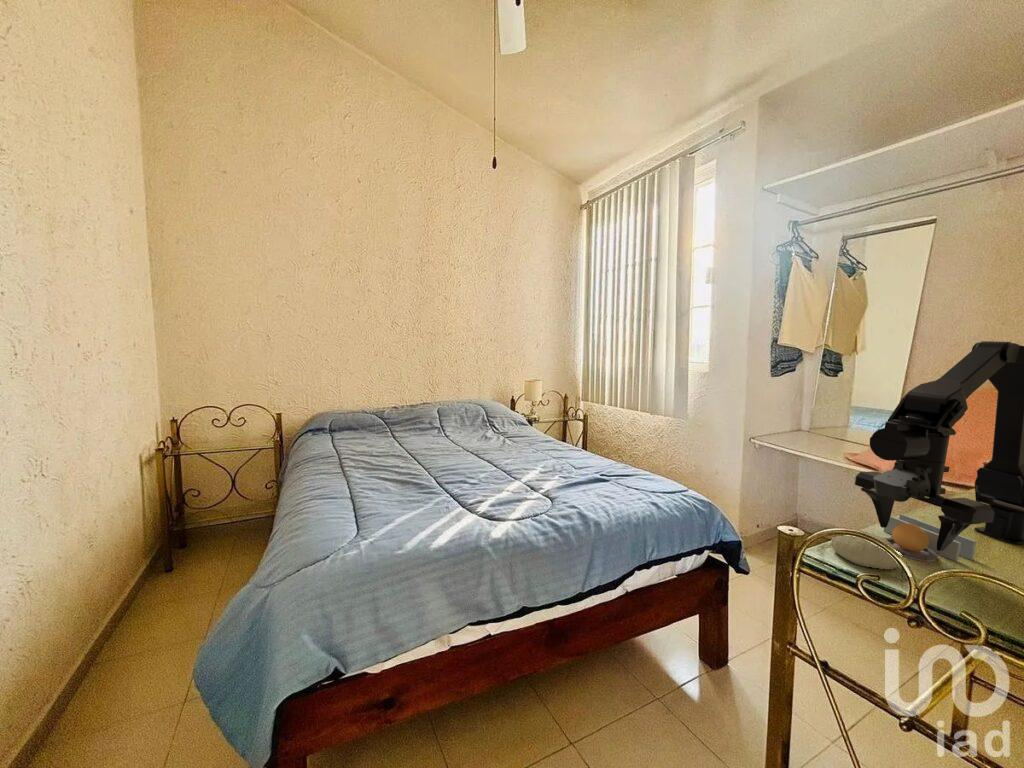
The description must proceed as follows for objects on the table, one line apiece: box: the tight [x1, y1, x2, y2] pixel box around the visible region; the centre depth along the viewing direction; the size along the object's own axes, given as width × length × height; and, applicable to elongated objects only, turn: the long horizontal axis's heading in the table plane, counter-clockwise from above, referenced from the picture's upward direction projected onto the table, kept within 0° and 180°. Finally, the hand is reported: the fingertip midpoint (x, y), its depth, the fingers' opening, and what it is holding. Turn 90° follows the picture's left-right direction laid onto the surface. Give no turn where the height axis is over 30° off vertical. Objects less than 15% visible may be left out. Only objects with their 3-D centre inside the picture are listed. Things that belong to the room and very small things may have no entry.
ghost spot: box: [884, 536, 938, 563], centre depth 79 cm, size 8×8×1 cm
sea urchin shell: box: [830, 528, 899, 571], centre depth 75 cm, size 9×8×8 cm
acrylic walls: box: [883, 513, 978, 562], centre depth 82 cm, size 5×12×4 cm, turn 14°
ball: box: [891, 523, 929, 552], centre depth 79 cm, size 5×5×5 cm
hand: (910, 538), depth 79 cm, fingers open, 9 cm apart
